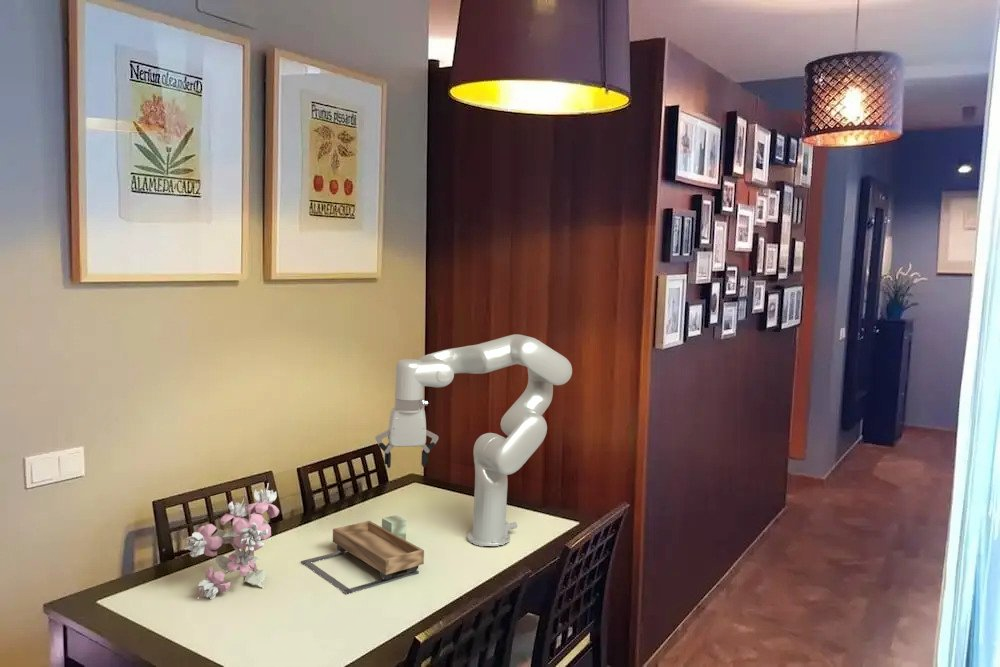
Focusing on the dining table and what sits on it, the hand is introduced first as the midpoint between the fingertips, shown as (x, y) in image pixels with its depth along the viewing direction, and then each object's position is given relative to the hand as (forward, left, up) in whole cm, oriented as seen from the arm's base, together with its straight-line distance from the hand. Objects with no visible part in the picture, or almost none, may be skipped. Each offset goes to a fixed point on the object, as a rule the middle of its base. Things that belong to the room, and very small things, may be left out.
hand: (406, 466), depth 212 cm
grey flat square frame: (+15, +2, -25) cm, 29 cm away
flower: (+47, -4, -25) cm, 53 cm away
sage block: (-2, -8, -25) cm, 26 cm away
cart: (+10, +2, -25) cm, 27 cm away
